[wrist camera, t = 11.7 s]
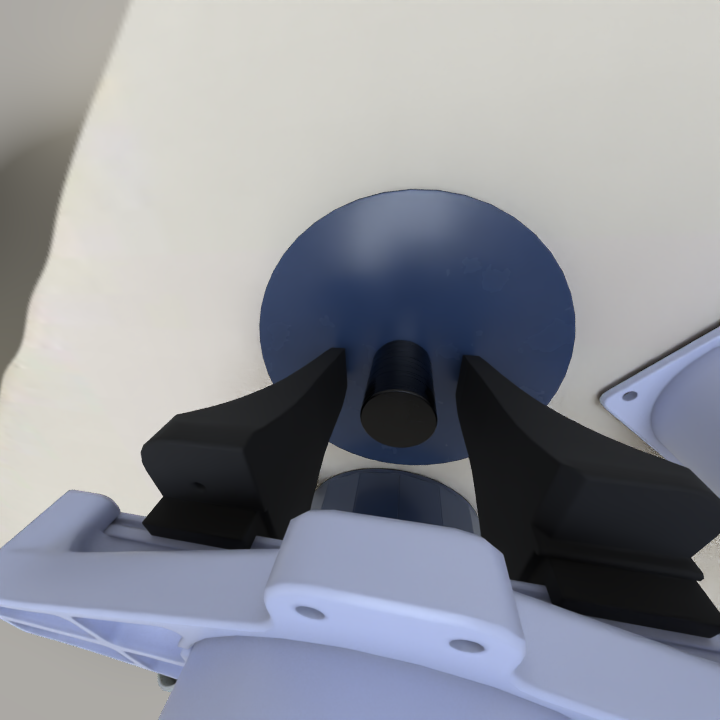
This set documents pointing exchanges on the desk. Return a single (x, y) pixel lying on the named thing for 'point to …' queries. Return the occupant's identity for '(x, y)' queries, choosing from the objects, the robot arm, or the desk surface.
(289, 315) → the pot lid
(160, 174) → the desk surface
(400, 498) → the pot
